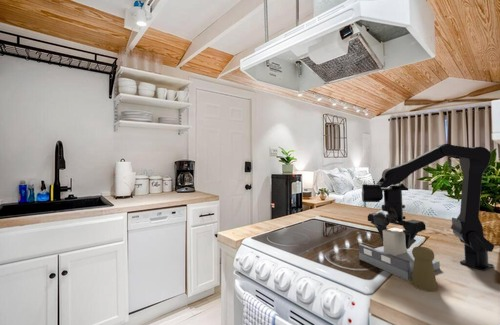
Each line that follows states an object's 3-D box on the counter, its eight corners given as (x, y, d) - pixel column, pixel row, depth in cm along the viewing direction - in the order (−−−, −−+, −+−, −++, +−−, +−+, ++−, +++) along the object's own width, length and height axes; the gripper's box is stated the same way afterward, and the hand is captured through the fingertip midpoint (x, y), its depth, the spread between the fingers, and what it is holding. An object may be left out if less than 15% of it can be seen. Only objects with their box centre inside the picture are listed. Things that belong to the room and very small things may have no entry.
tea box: (395, 255, 84) (394, 233, 84) (383, 251, 88) (381, 230, 88) (407, 252, 86) (406, 230, 86) (394, 248, 91) (393, 227, 91)
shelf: (388, 251, 94) (388, 237, 94) (439, 268, 78) (438, 252, 78) (359, 259, 88) (358, 244, 88) (407, 280, 71) (406, 262, 71)
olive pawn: (412, 278, 72) (411, 242, 72) (438, 284, 69) (436, 246, 69) (410, 287, 68) (409, 249, 68) (437, 293, 64) (435, 253, 64)
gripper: (356, 201, 92) (358, 241, 92) (403, 209, 75) (406, 257, 75) (376, 198, 97) (378, 236, 97) (425, 205, 80) (427, 251, 80)
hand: (395, 244), depth 87 cm, fingers open, 9 cm apart
